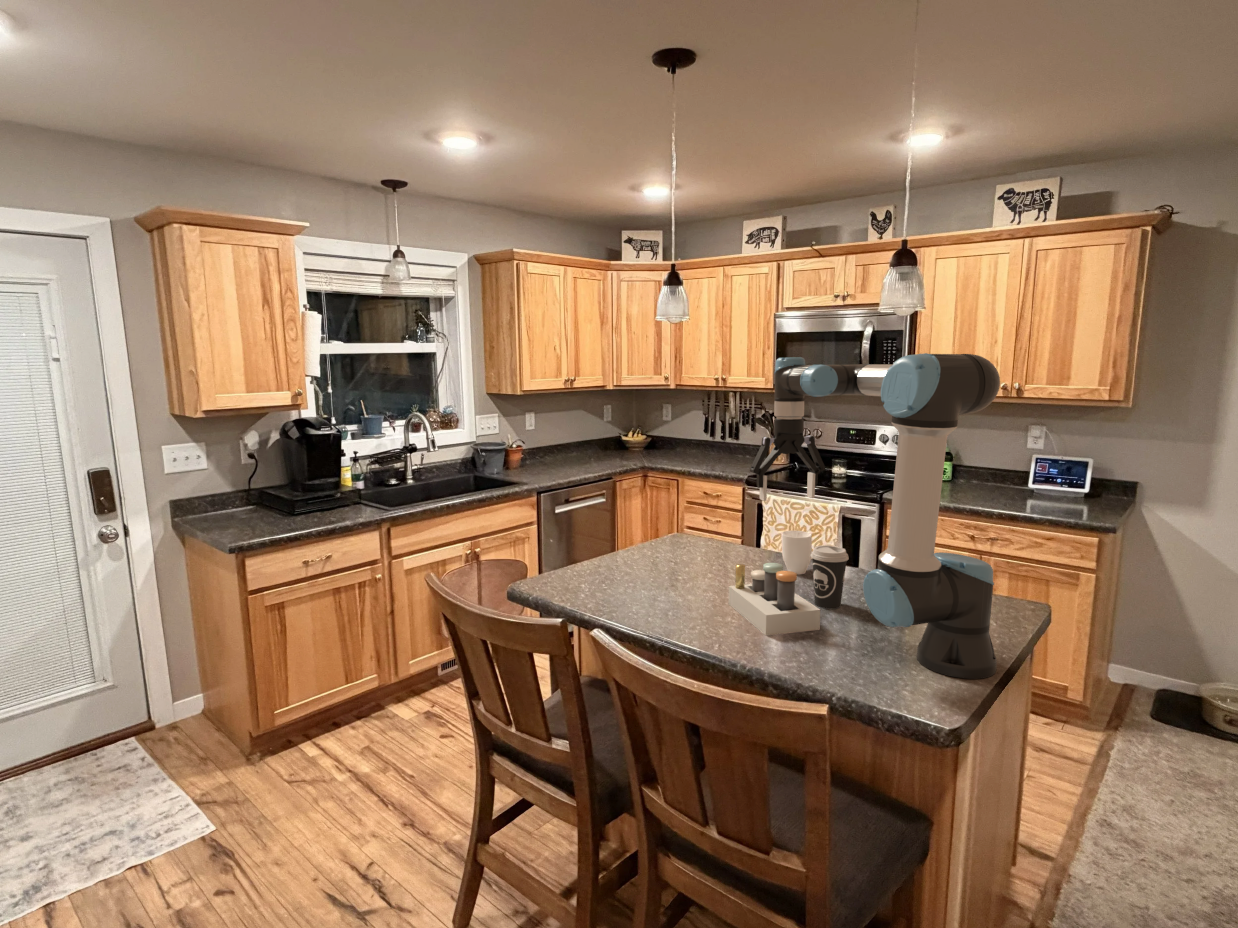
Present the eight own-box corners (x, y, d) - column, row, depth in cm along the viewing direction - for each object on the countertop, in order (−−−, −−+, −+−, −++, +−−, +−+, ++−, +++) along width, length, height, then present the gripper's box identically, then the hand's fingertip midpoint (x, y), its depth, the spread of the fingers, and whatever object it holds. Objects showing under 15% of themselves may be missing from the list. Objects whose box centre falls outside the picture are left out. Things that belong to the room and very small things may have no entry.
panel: (819, 629, 165) (820, 609, 164) (765, 635, 162) (766, 615, 161) (777, 599, 186) (777, 581, 185) (728, 604, 183) (728, 585, 182)
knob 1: (772, 609, 179) (773, 574, 177) (755, 610, 178) (755, 576, 176) (763, 602, 183) (764, 569, 182) (747, 604, 182) (747, 570, 181)
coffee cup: (848, 612, 176) (851, 555, 174) (809, 609, 178) (812, 553, 176) (844, 599, 186) (846, 545, 183) (807, 597, 187) (809, 543, 185)
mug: (803, 578, 204) (803, 538, 202) (776, 573, 210) (776, 534, 208) (820, 568, 213) (820, 530, 211) (793, 564, 219) (793, 527, 217)
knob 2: (785, 603, 171) (786, 567, 170) (767, 605, 170) (768, 568, 169) (776, 596, 176) (777, 562, 175) (759, 598, 175) (760, 563, 174)
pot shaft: (746, 588, 180) (746, 566, 179) (737, 589, 179) (737, 566, 178) (742, 585, 182) (742, 563, 181) (733, 586, 181) (734, 564, 181)
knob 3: (799, 613, 165) (800, 575, 163) (780, 614, 164) (782, 577, 162) (789, 606, 169) (790, 570, 168) (771, 608, 168) (772, 571, 167)
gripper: (825, 415, 185) (823, 493, 188) (738, 418, 180) (736, 498, 182) (840, 417, 178) (837, 498, 181) (749, 420, 172) (748, 503, 175)
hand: (787, 498), depth 182 cm, fingers open, 13 cm apart
